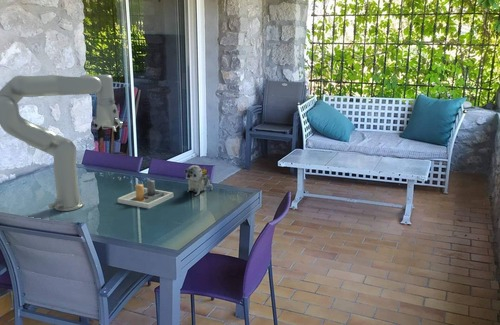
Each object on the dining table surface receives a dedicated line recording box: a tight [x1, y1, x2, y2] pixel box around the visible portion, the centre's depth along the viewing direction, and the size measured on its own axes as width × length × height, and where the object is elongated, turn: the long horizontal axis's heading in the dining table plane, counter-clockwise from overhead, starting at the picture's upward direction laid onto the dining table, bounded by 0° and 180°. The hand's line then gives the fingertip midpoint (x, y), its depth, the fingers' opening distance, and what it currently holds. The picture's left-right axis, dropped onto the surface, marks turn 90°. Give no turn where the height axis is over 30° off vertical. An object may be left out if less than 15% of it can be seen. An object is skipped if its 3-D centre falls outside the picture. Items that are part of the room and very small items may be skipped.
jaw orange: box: [134, 183, 146, 202], centre depth 222 cm, size 5×5×8 cm
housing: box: [117, 187, 174, 210], centre depth 226 cm, size 18×18×3 cm
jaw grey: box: [146, 179, 156, 197], centre depth 229 cm, size 5×5×8 cm
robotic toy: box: [184, 164, 214, 197], centre depth 236 cm, size 13×17×15 cm
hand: (109, 138), depth 227 cm, fingers open, 9 cm apart
